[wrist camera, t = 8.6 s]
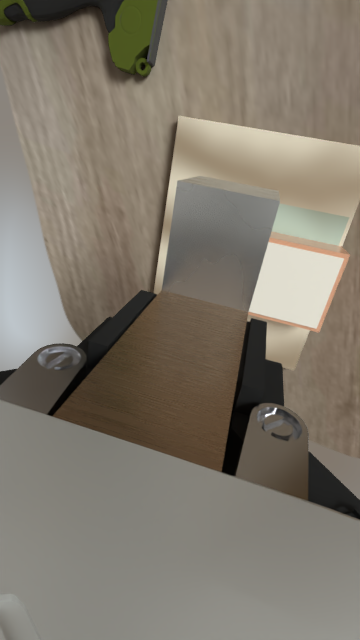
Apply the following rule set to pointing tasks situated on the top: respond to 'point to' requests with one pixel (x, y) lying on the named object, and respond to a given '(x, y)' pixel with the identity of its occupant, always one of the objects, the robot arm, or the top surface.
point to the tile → (297, 281)
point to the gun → (121, 22)
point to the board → (276, 174)
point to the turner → (186, 330)
